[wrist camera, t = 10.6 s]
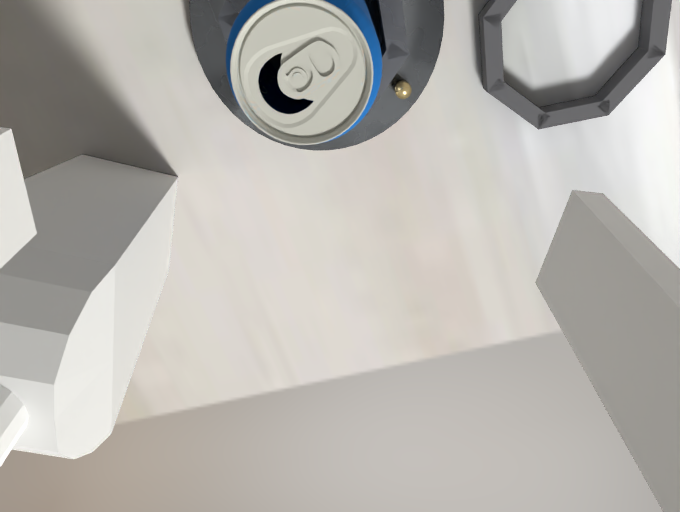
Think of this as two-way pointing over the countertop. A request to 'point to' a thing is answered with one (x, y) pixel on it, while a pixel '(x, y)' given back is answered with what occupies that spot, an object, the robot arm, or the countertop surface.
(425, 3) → the hub socket
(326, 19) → the beverage can
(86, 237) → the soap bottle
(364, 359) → the countertop surface
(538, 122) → the stand ring
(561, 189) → the countertop surface
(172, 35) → the countertop surface
